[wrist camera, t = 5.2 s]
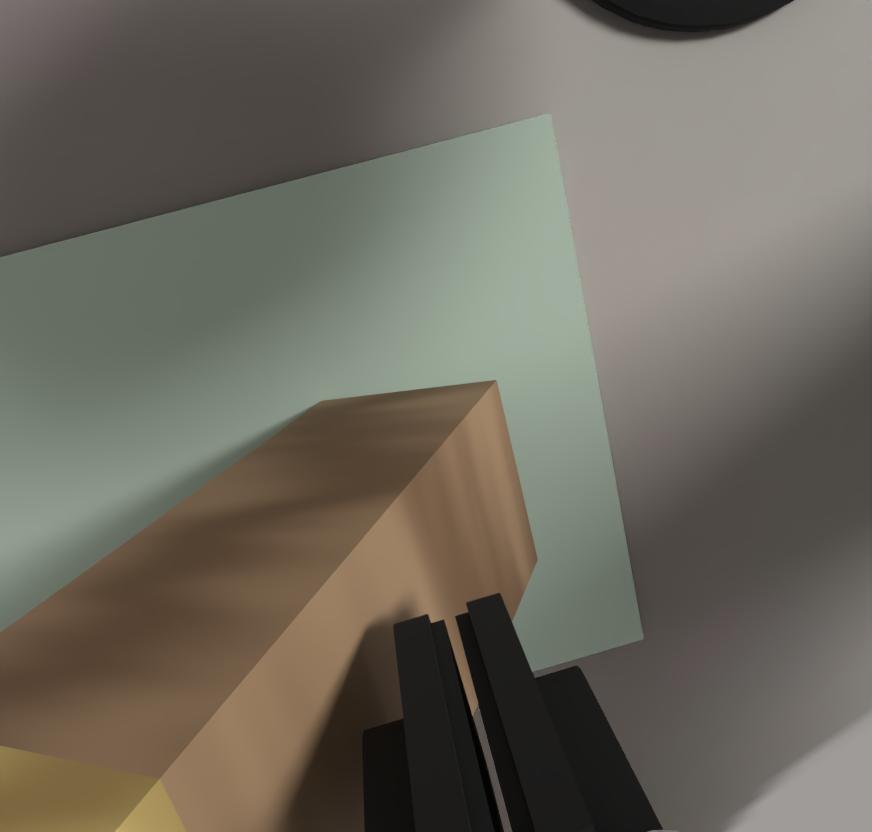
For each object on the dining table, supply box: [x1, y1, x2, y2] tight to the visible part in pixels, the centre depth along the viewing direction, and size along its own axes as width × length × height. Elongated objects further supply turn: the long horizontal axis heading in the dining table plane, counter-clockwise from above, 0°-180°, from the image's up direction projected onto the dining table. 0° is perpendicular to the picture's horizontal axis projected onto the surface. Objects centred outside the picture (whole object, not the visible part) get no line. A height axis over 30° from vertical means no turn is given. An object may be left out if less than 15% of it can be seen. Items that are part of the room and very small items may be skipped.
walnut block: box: [0, 380, 538, 832], centre depth 12 cm, size 5×5×12 cm
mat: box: [0, 113, 644, 672], centre depth 19 cm, size 20×16×1 cm
